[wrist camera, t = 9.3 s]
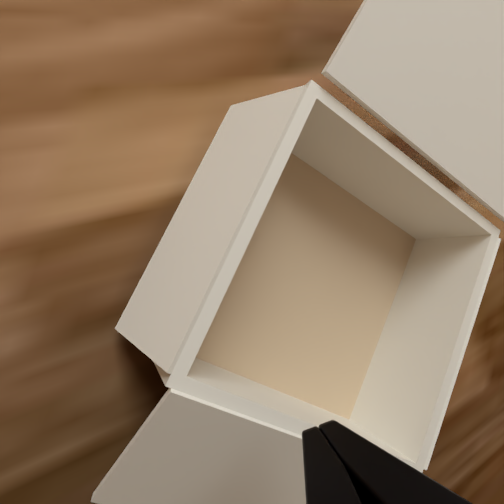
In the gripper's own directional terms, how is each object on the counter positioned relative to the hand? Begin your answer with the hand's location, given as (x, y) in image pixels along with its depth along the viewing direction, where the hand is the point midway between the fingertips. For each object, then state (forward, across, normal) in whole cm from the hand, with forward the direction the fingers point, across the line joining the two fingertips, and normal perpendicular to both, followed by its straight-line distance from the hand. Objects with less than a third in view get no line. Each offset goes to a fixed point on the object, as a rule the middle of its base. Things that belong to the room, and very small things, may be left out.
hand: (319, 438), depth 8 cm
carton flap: (+8, +9, +3) cm, 12 cm away
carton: (+9, +2, -4) cm, 10 cm away
